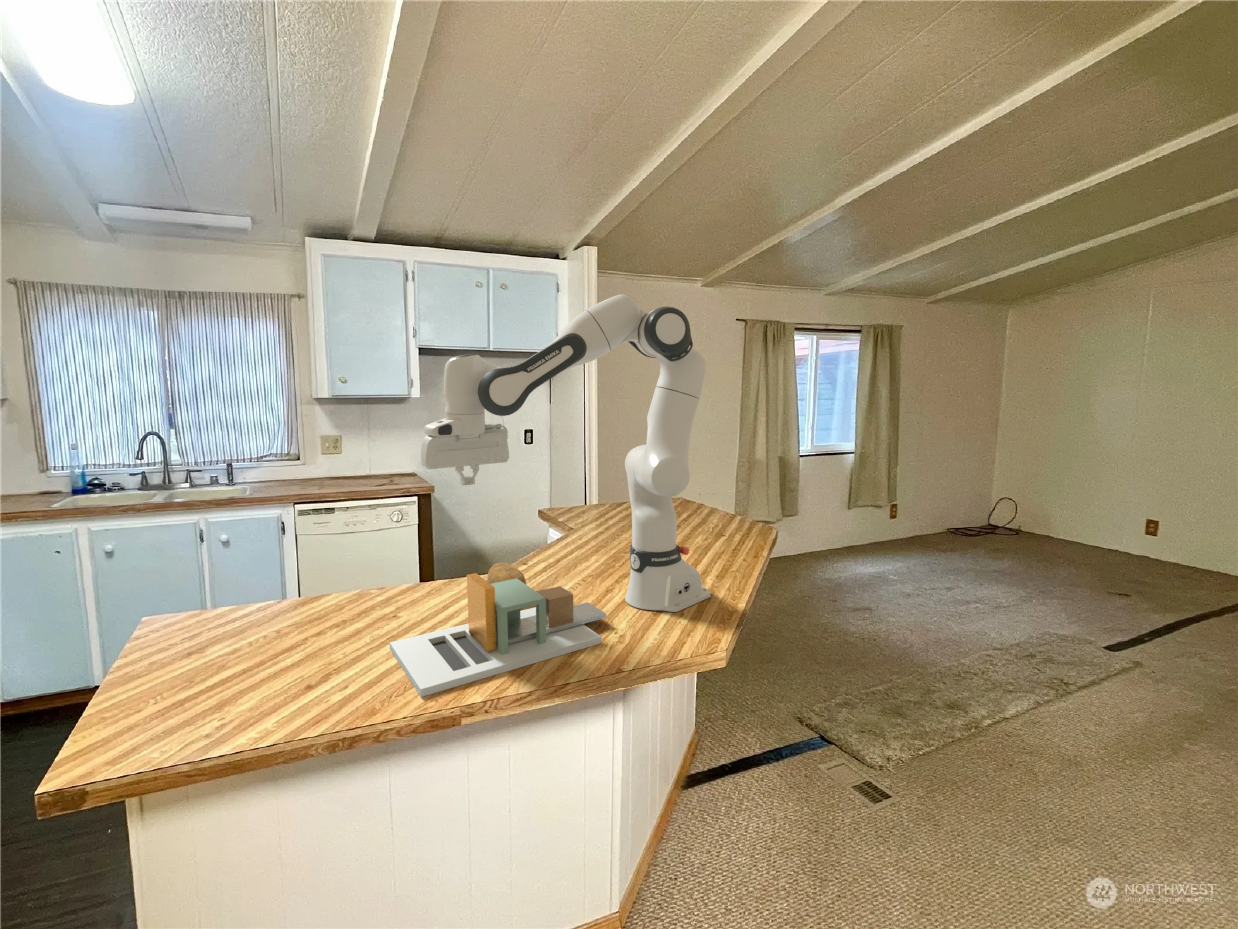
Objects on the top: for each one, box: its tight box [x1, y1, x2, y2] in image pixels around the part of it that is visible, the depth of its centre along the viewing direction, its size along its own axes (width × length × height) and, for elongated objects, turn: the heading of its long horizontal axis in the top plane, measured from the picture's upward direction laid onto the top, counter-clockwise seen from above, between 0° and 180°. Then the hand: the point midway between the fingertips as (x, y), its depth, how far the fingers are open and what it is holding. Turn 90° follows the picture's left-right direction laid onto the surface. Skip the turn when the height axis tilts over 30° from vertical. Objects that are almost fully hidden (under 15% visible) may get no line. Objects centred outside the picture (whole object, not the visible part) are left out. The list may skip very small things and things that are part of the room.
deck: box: [389, 606, 602, 698], centre depth 125 cm, size 38×22×2 cm, turn 124°
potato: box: [486, 562, 527, 585], centre depth 151 cm, size 10×14×8 cm
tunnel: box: [491, 578, 546, 655], centre depth 125 cm, size 10×14×10 cm
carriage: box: [466, 572, 607, 652], centre depth 129 cm, size 29×10×13 cm, turn 124°
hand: (467, 484), depth 139 cm, fingers closed
